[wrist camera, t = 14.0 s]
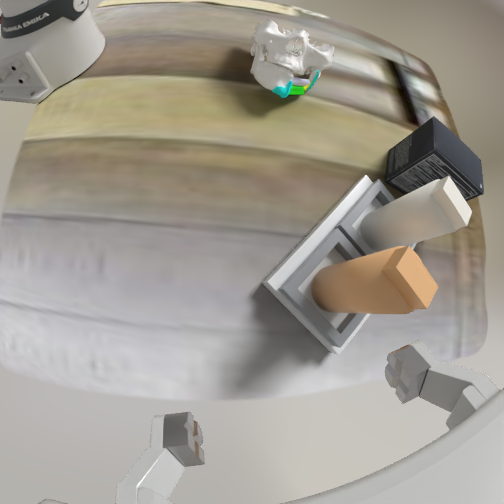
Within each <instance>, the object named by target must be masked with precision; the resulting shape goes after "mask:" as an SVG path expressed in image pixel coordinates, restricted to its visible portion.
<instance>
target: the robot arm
mask: <svg viewBox="0 0 504 504" xmlns="http://www.w3.org/2000/svg"><path fill="white" fill-rule="evenodd" d="M0 8H1V11H2V15H1V16H0V24H1V37H0V100H4V101H16V102H25V103H39V102H41V101H42V100H43V99H45V98H46V97H47V96H48V95H49V94H50V93H51V92H52V91H53V90H55V89H56V88H58V87H59V86H61V85H63V84H65V83H67V82H68V81H70V80H72V79H74V78H75V77H77V76H78V75H80V74H81V73H82V72H84V71H85V70H86V69H87V68H89V67H90V66H91V65H92V64H93V63H94V62H95V61H96V60H97V58H98V57H99V56H100V54H101V53H102V51H103V49H104V46H105V38H104V36H103V35H102V33H101V32H100V30H99V29H98V27H97V25H96V24H95V21H94V19H93V17H92V15H91V12H90V9H89V6H88V0H0ZM387 361H388V362H389V363H388V365H387V366H386V368H385V376H386V379H387V381H388V383H389V385H390V386H391V387H393V388H396V395H397V396H398V398H399V399H400V401H401V402H402V403H403V404H404V403H406V402H408V401H410V400H412V399H414V398H416V397H418V396H419V397H420V398H422V399H424V400H426V401H429V402H431V403H432V404H435V405H437V406H439V407H441V408H443V409H445V410H447V411H449V412H451V414H450V416H449V418H448V419H447V421H446V425H447V426H448V427H449V429H450V431H448V432H447V433H445V434H444V435H442V436H441V437H439V438H438V439H436V440H434V441H433V442H431V443H429V444H428V445H426V446H425V447H423V448H421V449H419V450H418V451H416V452H414V453H412V454H410V455H409V456H407V457H405V458H403V459H401V460H399V461H397V462H395V463H393V464H391V465H389V466H387V467H385V468H383V469H381V470H379V471H376V472H374V473H372V474H370V475H367V476H365V477H363V478H360V479H358V480H355V481H353V482H350V483H347V484H345V485H342V486H339V487H337V488H334V489H331V490H328V491H325V492H322V493H318V494H315V495H312V496H308V497H305V498H301V499H298V500H294V501H290V502H285V503H281V504H504V388H503V389H502V390H500V389H499V388H498V387H497V386H496V384H494V382H493V381H492V380H491V379H490V378H489V377H488V376H487V375H486V374H485V373H482V372H479V371H475V370H472V369H468V368H465V367H462V366H458V365H455V364H451V363H448V362H445V361H442V362H440V361H439V360H438V359H437V358H436V357H435V356H434V355H433V354H432V353H431V352H430V351H429V349H428V348H427V347H426V346H425V345H424V344H423V343H422V342H421V341H419V340H417V341H415V342H413V343H411V344H409V345H406V346H404V347H402V348H400V349H398V350H396V351H394V352H391V353H389V354H388V356H387ZM202 443H203V436H202V431H201V428H200V426H199V424H198V423H197V422H196V421H194V420H193V415H192V414H191V412H185V413H176V414H167V415H156V416H154V417H153V419H152V427H151V439H150V449H146V450H145V452H144V453H143V454H142V455H141V457H140V458H139V459H138V461H137V462H136V463H135V464H134V466H133V467H132V468H131V469H130V471H129V472H128V473H127V475H126V476H125V477H124V478H123V479H122V481H121V482H120V483H119V484H118V485H117V492H116V503H115V504H174V503H172V502H171V501H169V500H168V498H169V496H170V494H171V493H172V491H173V489H174V487H175V485H176V484H177V482H178V480H179V478H180V476H181V475H182V473H183V471H184V469H185V467H187V466H196V465H203V464H205V462H204V451H203V449H202V448H201V447H200V446H201V444H202ZM38 504H66V503H62V502H58V501H55V500H50V499H45V500H43V501H41V502H40V503H38Z"/></svg>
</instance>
